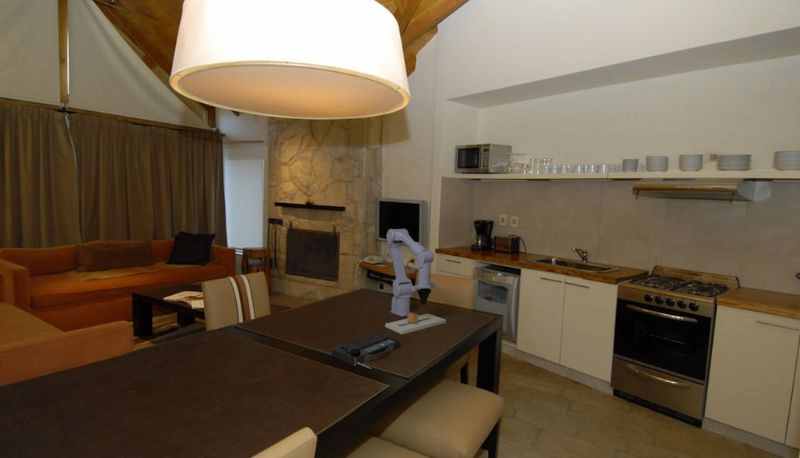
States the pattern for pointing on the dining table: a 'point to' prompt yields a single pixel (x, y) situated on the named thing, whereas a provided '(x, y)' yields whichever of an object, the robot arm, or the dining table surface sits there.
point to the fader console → (415, 324)
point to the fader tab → (412, 317)
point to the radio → (365, 349)
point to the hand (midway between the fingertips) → (423, 303)
